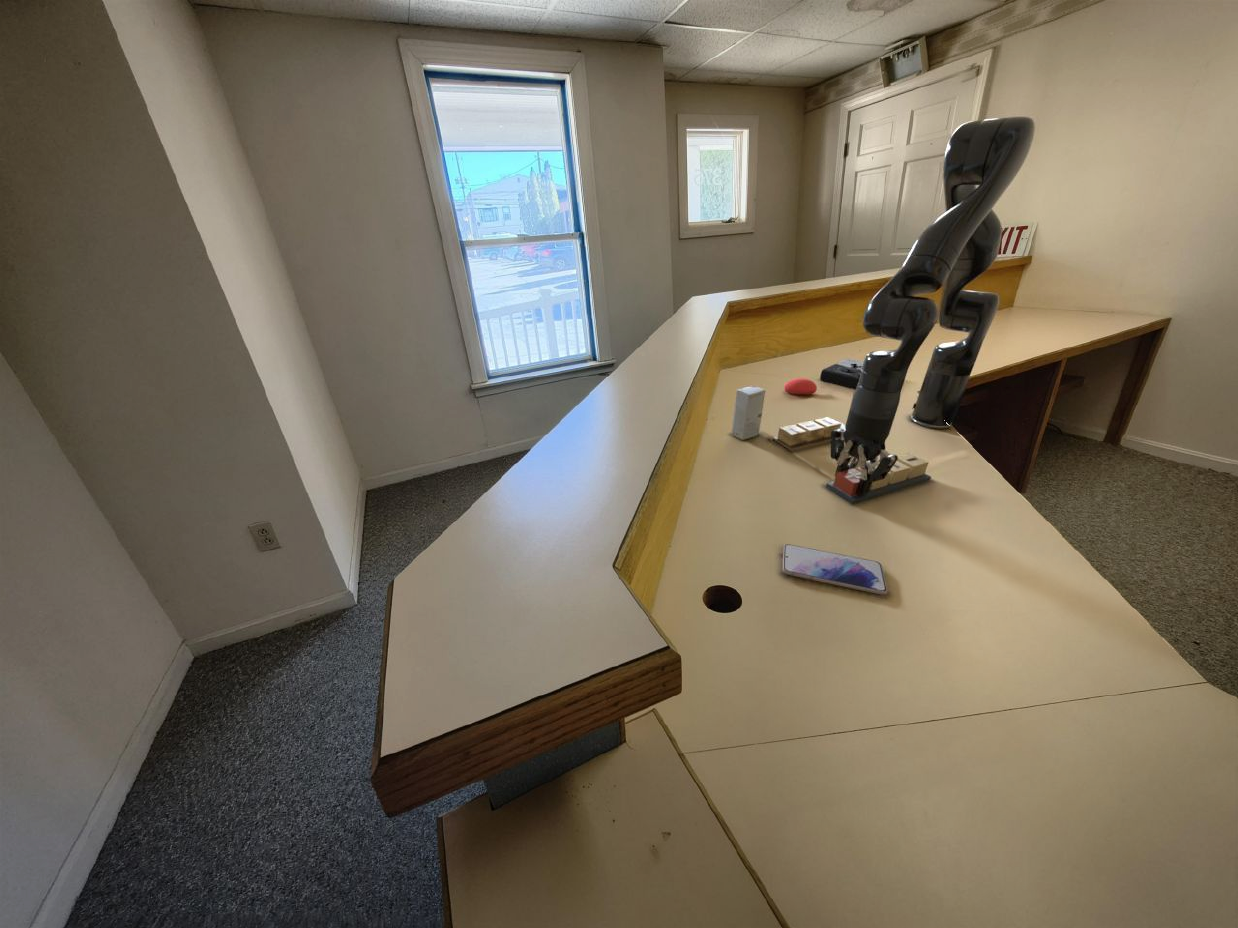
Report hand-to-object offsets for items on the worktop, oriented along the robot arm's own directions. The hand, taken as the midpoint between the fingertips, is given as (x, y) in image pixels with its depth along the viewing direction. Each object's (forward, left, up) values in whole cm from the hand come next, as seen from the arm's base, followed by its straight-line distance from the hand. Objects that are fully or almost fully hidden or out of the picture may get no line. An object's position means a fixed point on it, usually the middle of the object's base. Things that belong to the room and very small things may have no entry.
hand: (850, 486), depth 92 cm
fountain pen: (-7, -6, 0) cm, 9 cm away
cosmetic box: (+3, -31, -2) cm, 31 cm away
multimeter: (-56, -52, -2) cm, 77 cm away
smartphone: (+21, +16, -1) cm, 26 cm away
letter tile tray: (-12, -22, -1) cm, 25 cm away
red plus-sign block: (0, 0, 0) cm, 0 cm away
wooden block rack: (-8, 0, -1) cm, 8 cm away
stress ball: (-30, -48, -2) cm, 57 cm away
